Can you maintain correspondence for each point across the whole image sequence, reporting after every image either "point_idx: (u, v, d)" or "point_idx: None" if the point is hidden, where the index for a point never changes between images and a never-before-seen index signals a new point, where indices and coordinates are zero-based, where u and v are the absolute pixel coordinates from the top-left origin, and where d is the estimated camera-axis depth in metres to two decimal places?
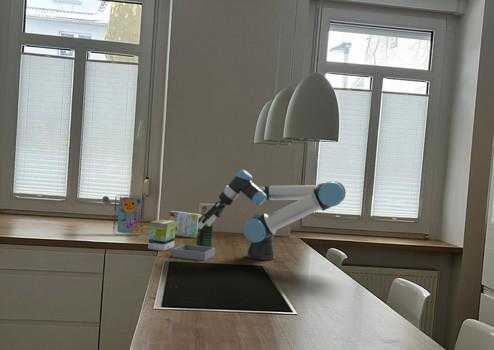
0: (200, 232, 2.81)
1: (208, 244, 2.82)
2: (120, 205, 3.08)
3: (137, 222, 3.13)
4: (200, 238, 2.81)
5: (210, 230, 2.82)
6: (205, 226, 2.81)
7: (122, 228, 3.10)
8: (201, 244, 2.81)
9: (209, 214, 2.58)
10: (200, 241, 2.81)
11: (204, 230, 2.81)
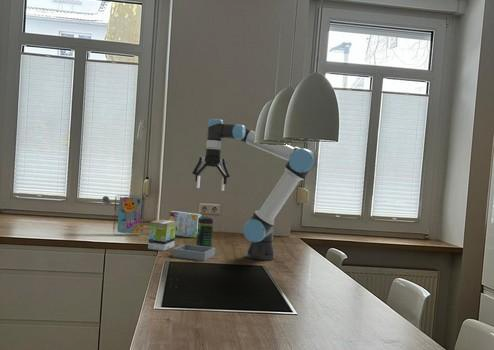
0: (200, 232, 2.81)
1: (208, 244, 2.82)
2: (120, 205, 3.08)
3: (137, 222, 3.13)
4: (200, 238, 2.81)
5: (210, 230, 2.82)
6: (205, 226, 2.81)
7: (122, 228, 3.10)
8: (201, 244, 2.81)
9: None
10: (200, 241, 2.81)
11: (204, 230, 2.81)
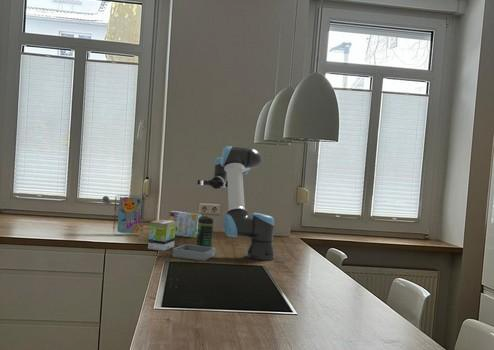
0: (200, 232, 2.81)
1: (208, 244, 2.82)
2: (120, 205, 3.08)
3: (137, 222, 3.13)
4: (200, 238, 2.81)
5: (210, 230, 2.82)
6: (205, 226, 2.81)
7: (122, 228, 3.10)
8: (201, 244, 2.81)
9: None
10: (200, 241, 2.81)
11: (204, 230, 2.81)
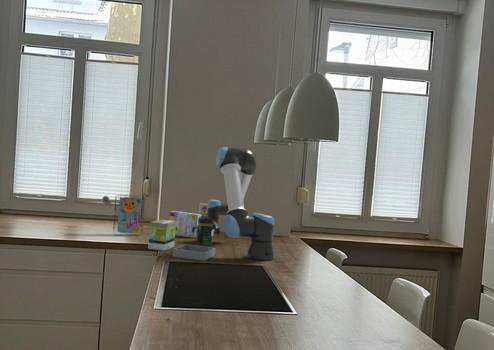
0: (200, 232, 2.81)
1: (208, 244, 2.81)
2: (120, 205, 3.08)
3: (137, 222, 3.13)
4: (200, 238, 2.81)
5: (210, 230, 2.82)
6: (205, 226, 2.81)
7: (122, 228, 3.10)
8: (201, 244, 2.81)
9: None
10: (200, 241, 2.81)
11: (204, 230, 2.81)
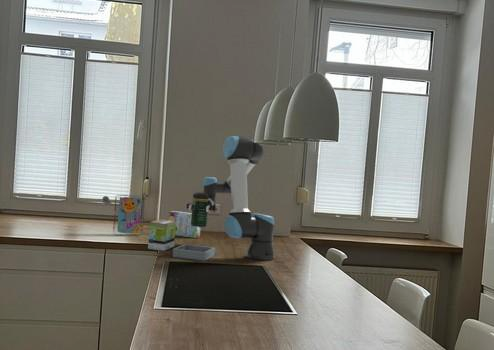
0: (195, 208, 2.72)
1: (203, 220, 2.72)
2: (120, 205, 3.08)
3: (137, 222, 3.13)
4: (195, 214, 2.71)
5: (205, 206, 2.72)
6: (200, 201, 2.71)
7: (122, 228, 3.10)
8: (196, 220, 2.71)
9: None
10: (195, 217, 2.71)
11: (199, 205, 2.71)
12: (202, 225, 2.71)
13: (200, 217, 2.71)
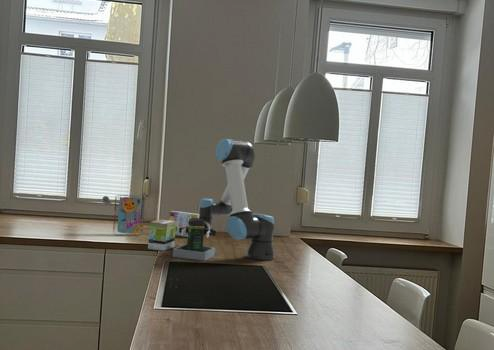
0: (190, 235, 2.62)
1: (199, 248, 2.62)
2: (120, 205, 3.08)
3: (137, 222, 3.13)
4: (190, 241, 2.61)
5: (201, 233, 2.62)
6: (195, 229, 2.61)
7: (122, 228, 3.10)
8: (191, 248, 2.61)
9: None
10: (190, 245, 2.61)
11: (194, 233, 2.61)
12: None
13: (196, 245, 2.61)
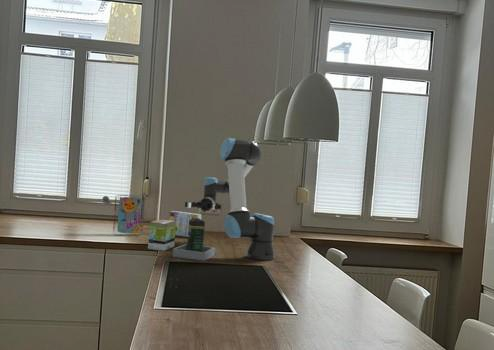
0: (190, 235, 2.62)
1: (199, 248, 2.62)
2: (120, 205, 3.08)
3: (137, 222, 3.13)
4: (190, 241, 2.61)
5: (201, 233, 2.63)
6: (196, 229, 2.61)
7: (122, 228, 3.10)
8: (191, 248, 2.61)
9: None
10: (190, 245, 2.61)
11: (195, 233, 2.61)
12: None
13: (196, 245, 2.61)
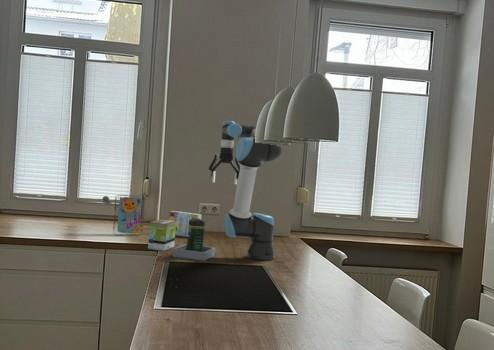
0: (190, 235, 2.62)
1: (199, 248, 2.62)
2: (120, 205, 3.08)
3: (137, 222, 3.13)
4: (190, 241, 2.61)
5: (201, 233, 2.63)
6: (196, 229, 2.61)
7: (122, 228, 3.10)
8: (191, 248, 2.61)
9: None
10: (190, 245, 2.61)
11: (195, 233, 2.61)
12: None
13: (196, 245, 2.61)
